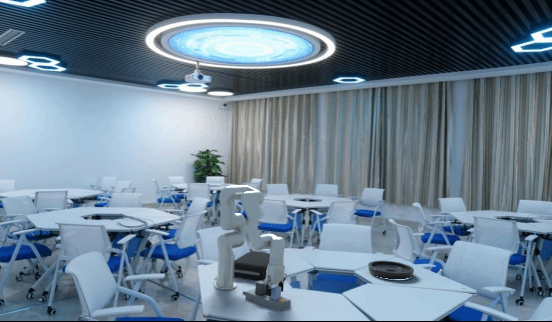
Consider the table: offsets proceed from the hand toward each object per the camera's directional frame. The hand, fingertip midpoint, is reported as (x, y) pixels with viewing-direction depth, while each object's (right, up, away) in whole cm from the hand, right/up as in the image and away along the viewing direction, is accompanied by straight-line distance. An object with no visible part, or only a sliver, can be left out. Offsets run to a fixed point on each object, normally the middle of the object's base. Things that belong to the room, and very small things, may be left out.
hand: (274, 293), depth 204 cm
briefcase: (-10, -5, +55) cm, 56 cm away
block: (0, -5, 0) cm, 5 cm away
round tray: (+79, -9, +63) cm, 102 cm away
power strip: (-6, -6, +5) cm, 10 cm away
